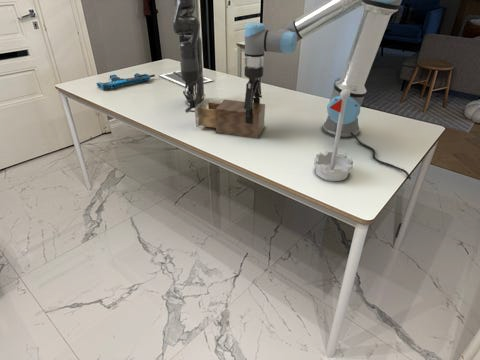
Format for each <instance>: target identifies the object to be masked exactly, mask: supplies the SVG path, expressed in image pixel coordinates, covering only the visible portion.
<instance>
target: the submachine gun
mask: <svg viewBox="0 0 480 360" xmlns="http://www.w3.org/2000/svg"><path fill="white" fill-rule="evenodd" d="M154 77H156V74H147V73H142V74H141V73H139V72H137V73H135V74H133V77H128V78H121V77H119V76H118V75H117V74H110V75H109V79H111V81H107V82H96V83H95V84H96V87H98V88H99V89H101V90H102V91H103V90H109V89H113V90H116V88H118V87H119V88H120V87H122V86H127V85H133V84H138V83H142V82H148V81H149V80H150V79H151V78H154Z"/></svg>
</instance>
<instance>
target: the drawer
mask: <svg viewBox="0 0 480 360" xmlns="http://www.w3.org/2000/svg"><path fill="white" fill-rule="evenodd" d="M220 103H221V102H211V101H208V102H207V99H205V100H203V101H202V102H201V103H200V104H199V105H198V106H196V107H195V108H191V107H190V105H188V107H187V108H186V109H185V110H184V112H185V113H186V114H188V113H194V116H195V127H196V128H200V127H201V126H202V127H207V128H215V129H216V113H215V109H216V108H217V107H218V105H219V104H220ZM207 104H208V107H207Z"/></svg>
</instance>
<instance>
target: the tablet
mask: <svg viewBox="0 0 480 360" xmlns="http://www.w3.org/2000/svg"><path fill="white" fill-rule="evenodd" d="M173 72H175V73H177V74H178V75H180V76H181V77H182V75H181V70H176V71H172V72H167V73H163V74H158V76H159V77H161V78H163V79H165V80H167V81H170V82H173V83H175V84H177V85H179V86H182V87H184V88H185V81H183V80H182V78H181V77H179V76H178V75H176V74H175V73H173ZM203 82H204V84H205V83H206V84H207V83H210V82H214V80H213V79H211V78H208V77H206V76H203Z"/></svg>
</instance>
